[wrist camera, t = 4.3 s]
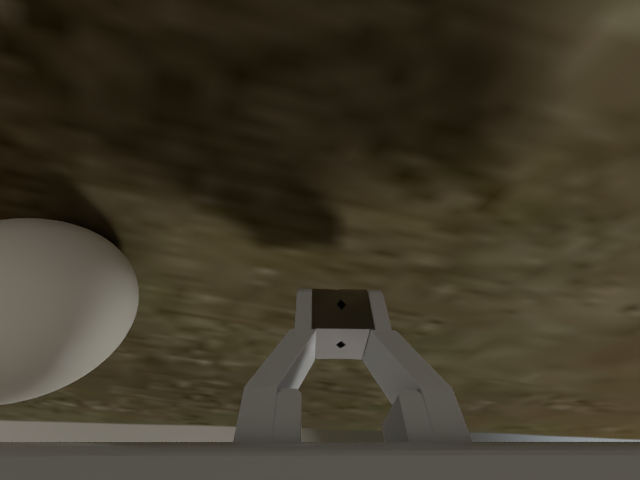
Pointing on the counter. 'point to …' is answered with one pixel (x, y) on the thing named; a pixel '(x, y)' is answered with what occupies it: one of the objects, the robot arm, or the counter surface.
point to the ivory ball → (58, 304)
